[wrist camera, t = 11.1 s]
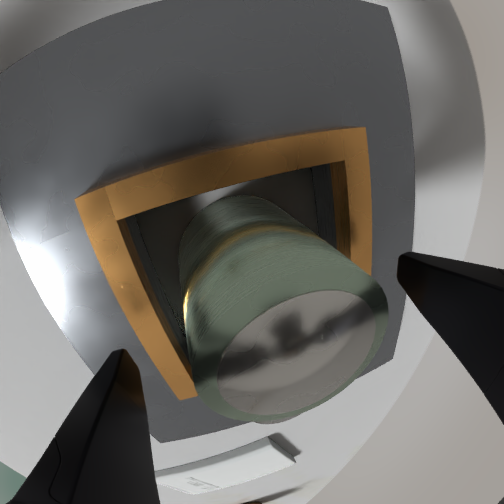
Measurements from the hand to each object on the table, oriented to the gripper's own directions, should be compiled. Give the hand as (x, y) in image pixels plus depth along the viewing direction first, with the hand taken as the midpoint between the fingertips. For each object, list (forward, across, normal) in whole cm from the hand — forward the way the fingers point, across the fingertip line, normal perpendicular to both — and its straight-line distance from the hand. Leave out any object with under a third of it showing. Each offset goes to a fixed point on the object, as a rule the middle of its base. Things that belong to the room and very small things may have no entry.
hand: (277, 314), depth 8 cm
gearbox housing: (+4, 0, 0) cm, 4 cm away
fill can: (+4, 0, 0) cm, 4 cm away
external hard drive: (+5, +7, +22) cm, 23 cm away
